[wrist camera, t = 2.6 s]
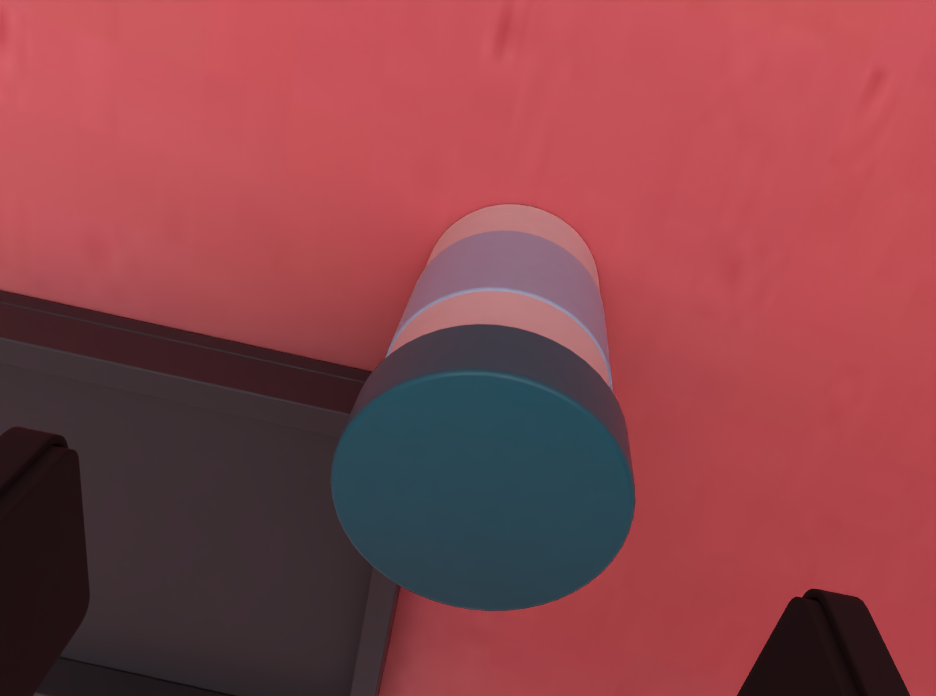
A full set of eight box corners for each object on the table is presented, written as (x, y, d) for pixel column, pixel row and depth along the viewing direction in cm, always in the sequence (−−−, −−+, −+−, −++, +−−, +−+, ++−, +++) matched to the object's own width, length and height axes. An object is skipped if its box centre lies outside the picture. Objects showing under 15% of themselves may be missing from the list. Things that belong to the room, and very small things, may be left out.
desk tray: (-282, 227, 20) (-368, 256, 18) (441, 385, 20) (428, 431, 18) (-159, 605, 27) (-212, 653, 25) (372, 723, 27) (359, 780, 25)
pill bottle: (433, 175, 17) (345, 339, 10) (631, 218, 17) (678, 411, 10) (404, 347, 19) (316, 578, 12) (579, 386, 19) (588, 638, 12)
